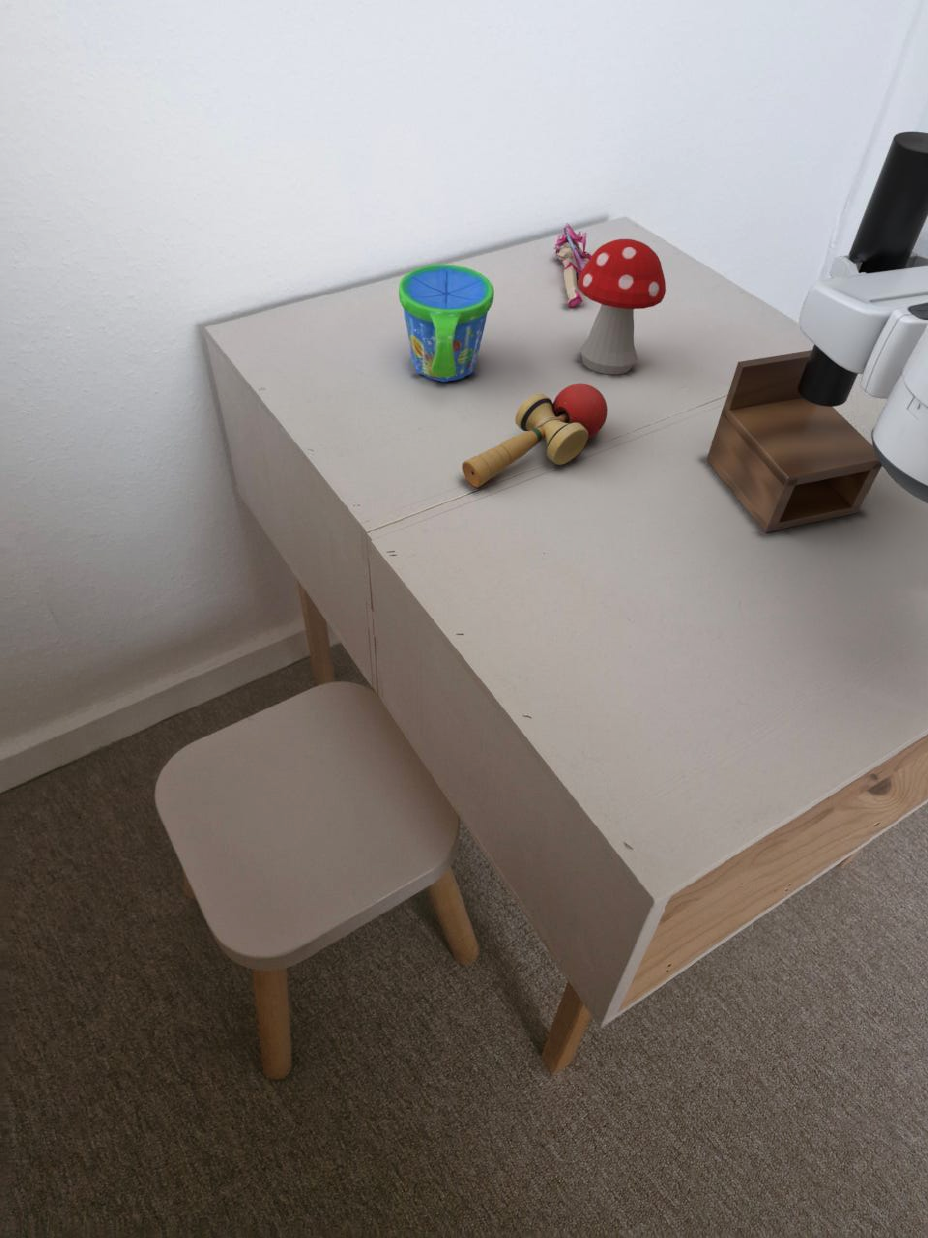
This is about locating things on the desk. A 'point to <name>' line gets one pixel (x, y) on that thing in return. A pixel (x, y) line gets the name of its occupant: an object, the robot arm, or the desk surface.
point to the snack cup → (445, 318)
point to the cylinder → (878, 248)
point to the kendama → (545, 430)
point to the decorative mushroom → (619, 301)
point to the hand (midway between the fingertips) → (868, 259)
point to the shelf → (788, 448)
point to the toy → (571, 261)
